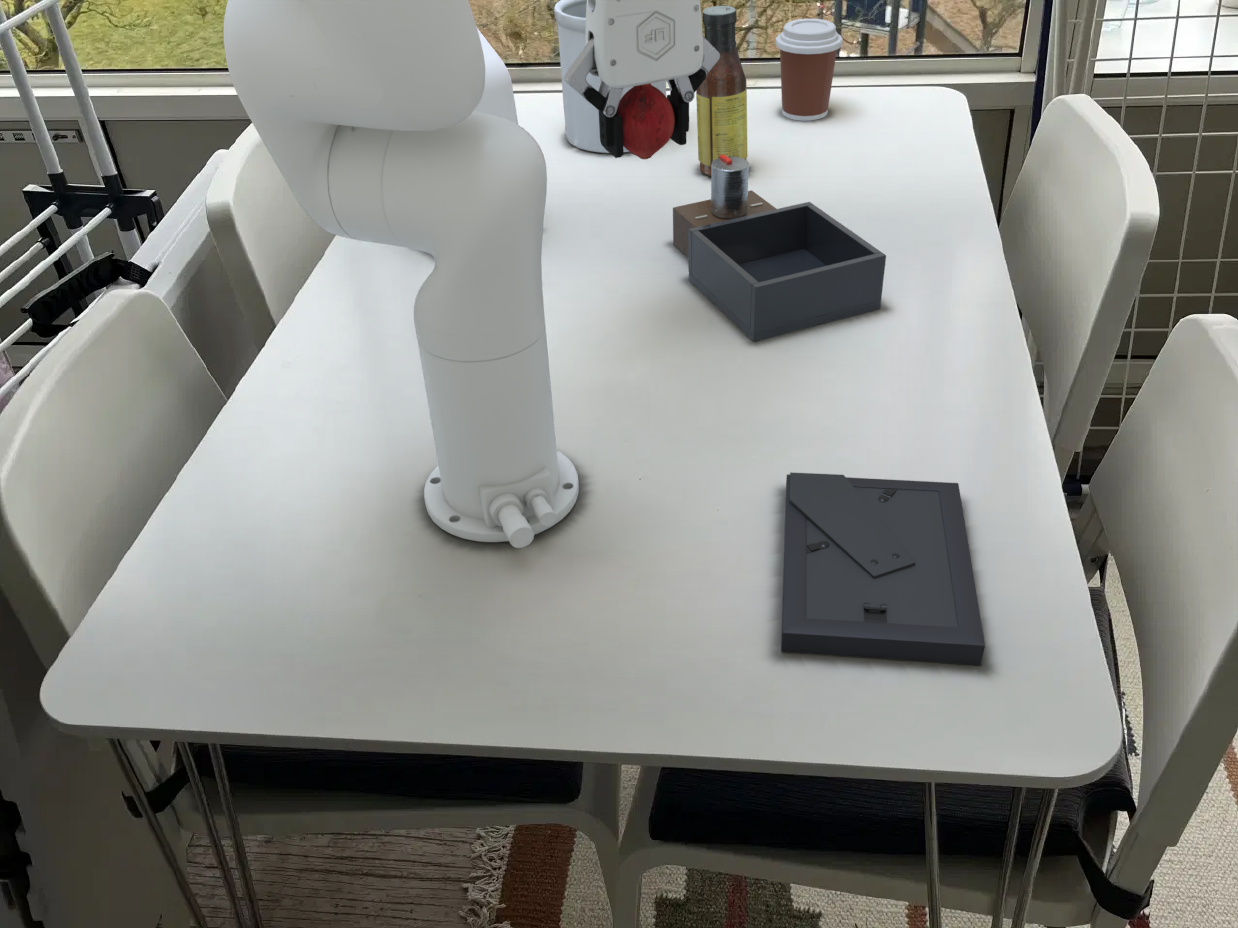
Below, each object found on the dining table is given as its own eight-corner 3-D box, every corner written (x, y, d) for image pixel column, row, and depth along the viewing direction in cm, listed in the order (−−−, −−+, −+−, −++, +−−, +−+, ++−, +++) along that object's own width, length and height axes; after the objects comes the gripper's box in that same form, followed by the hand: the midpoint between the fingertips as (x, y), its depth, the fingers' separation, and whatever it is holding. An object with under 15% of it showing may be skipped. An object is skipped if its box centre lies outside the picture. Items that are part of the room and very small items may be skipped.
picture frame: (785, 492, 92) (780, 652, 78) (786, 470, 91) (782, 628, 77) (955, 501, 90) (981, 666, 76) (959, 479, 89) (986, 642, 75)
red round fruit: (670, 171, 107) (669, 86, 102) (610, 169, 108) (606, 85, 103) (678, 149, 112) (678, 66, 107) (621, 147, 113) (618, 65, 108)
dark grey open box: (880, 309, 115) (886, 255, 112) (753, 342, 111) (755, 287, 108) (806, 252, 126) (809, 201, 123) (688, 280, 122) (688, 228, 119)
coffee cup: (770, 123, 159) (774, 35, 151) (774, 101, 166) (777, 16, 159) (836, 124, 157) (843, 35, 150) (837, 102, 164) (844, 16, 157)
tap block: (785, 254, 126) (787, 215, 123) (705, 273, 123) (705, 234, 120) (750, 226, 132) (751, 188, 130) (672, 244, 129) (672, 205, 127)
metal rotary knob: (753, 214, 124) (755, 163, 121) (721, 221, 123) (722, 170, 120) (736, 201, 127) (737, 151, 124) (704, 208, 126) (704, 158, 122)
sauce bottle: (755, 166, 147) (760, 6, 135) (732, 183, 142) (735, 19, 131) (710, 157, 149) (711, 0, 138) (687, 174, 145) (686, 13, 133)
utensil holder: (604, 110, 166) (598, -17, 155) (690, 128, 158) (690, -4, 148) (541, 143, 156) (530, 10, 146) (630, 163, 149) (625, 25, 139)
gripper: (564, -34, 93) (576, 177, 104) (749, -60, 98) (743, 143, 109) (532, -51, 99) (547, 150, 109) (708, -75, 104) (706, 119, 114)
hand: (645, 145), depth 109 cm, fingers closed on red round fruit, 5 cm apart
